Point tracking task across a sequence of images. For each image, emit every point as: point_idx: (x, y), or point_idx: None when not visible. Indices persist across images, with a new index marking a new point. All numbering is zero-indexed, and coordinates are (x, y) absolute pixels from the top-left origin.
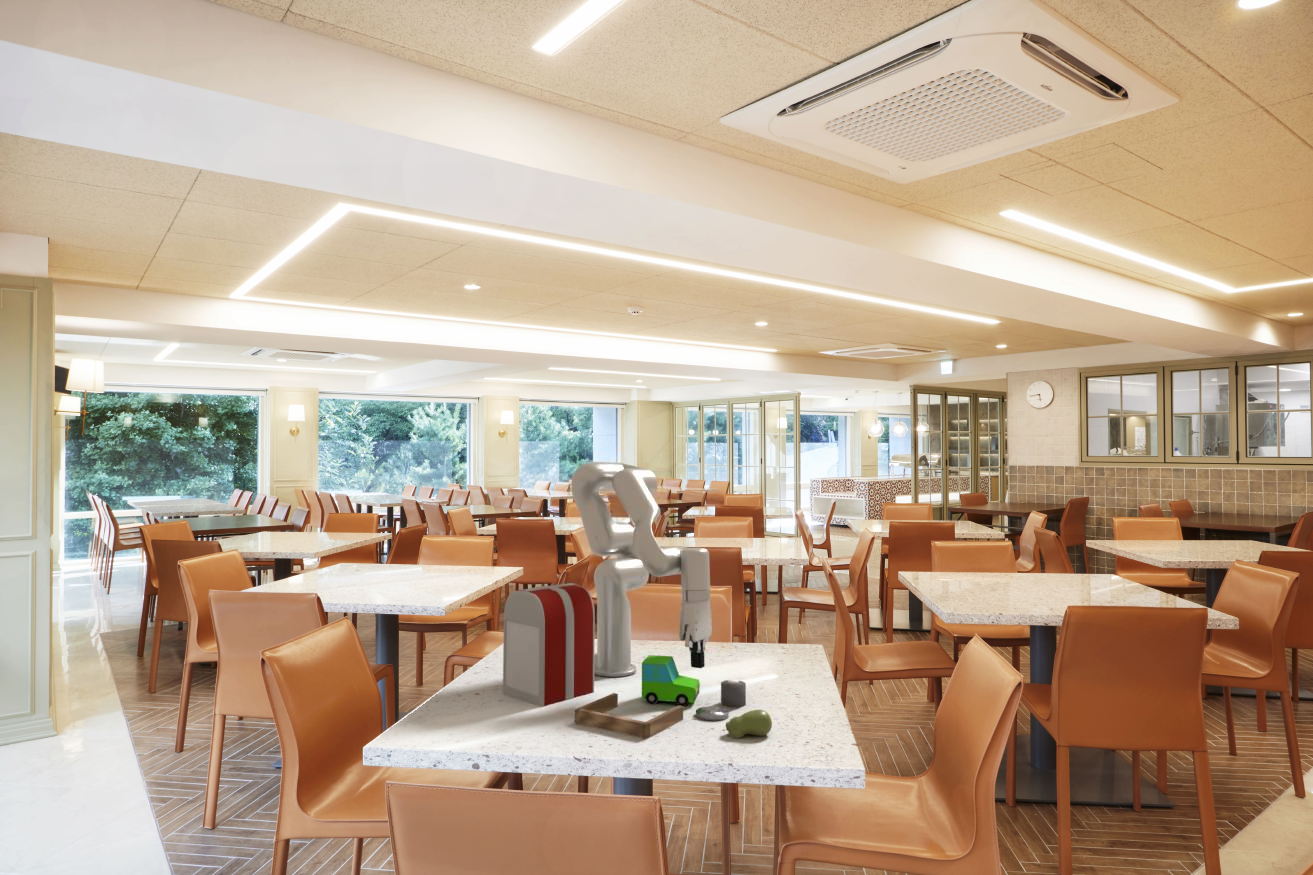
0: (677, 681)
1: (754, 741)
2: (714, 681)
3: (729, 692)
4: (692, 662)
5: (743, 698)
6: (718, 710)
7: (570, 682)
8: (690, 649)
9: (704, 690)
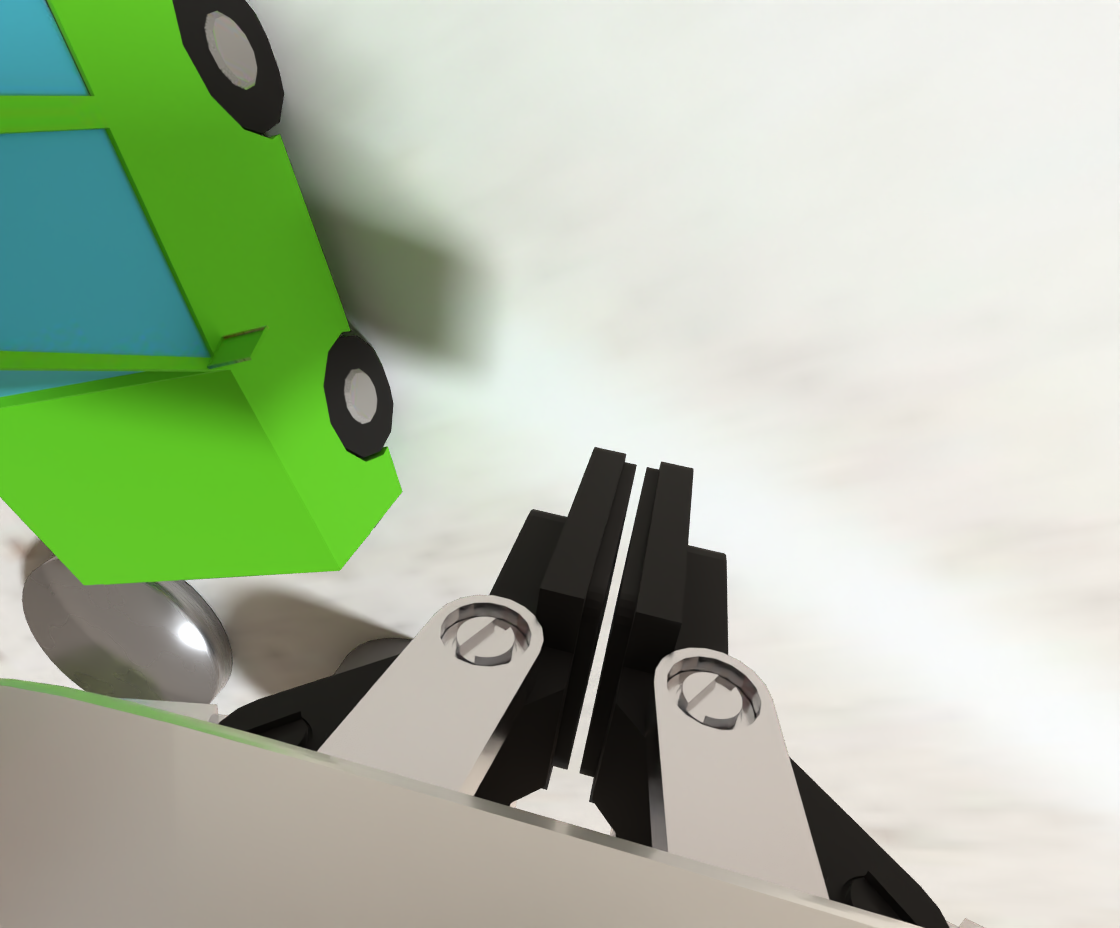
0: (30, 430)
1: None
2: (1065, 482)
3: None
4: (529, 518)
5: None
6: (157, 673)
7: None
8: (372, 666)
9: (657, 465)
